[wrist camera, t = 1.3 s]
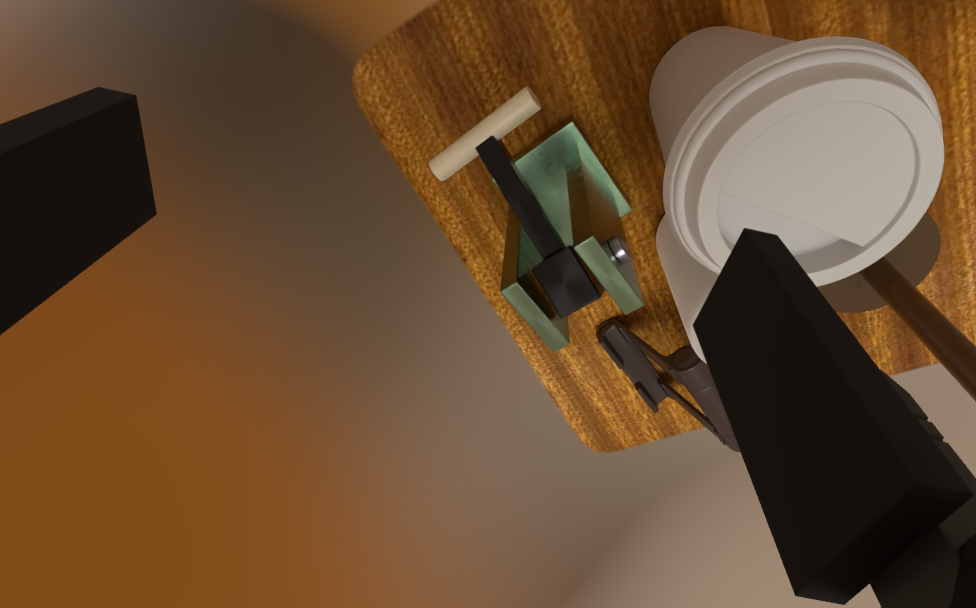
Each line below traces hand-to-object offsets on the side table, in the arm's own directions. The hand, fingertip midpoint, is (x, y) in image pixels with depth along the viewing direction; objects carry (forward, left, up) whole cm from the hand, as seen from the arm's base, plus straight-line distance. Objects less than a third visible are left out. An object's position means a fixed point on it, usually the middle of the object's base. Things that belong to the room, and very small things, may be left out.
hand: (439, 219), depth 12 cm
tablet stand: (+14, +20, -23) cm, 34 cm away
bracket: (+7, +7, -23) cm, 25 cm away
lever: (+5, +5, -14) cm, 16 cm away
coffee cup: (-2, +12, -23) cm, 26 cm away
